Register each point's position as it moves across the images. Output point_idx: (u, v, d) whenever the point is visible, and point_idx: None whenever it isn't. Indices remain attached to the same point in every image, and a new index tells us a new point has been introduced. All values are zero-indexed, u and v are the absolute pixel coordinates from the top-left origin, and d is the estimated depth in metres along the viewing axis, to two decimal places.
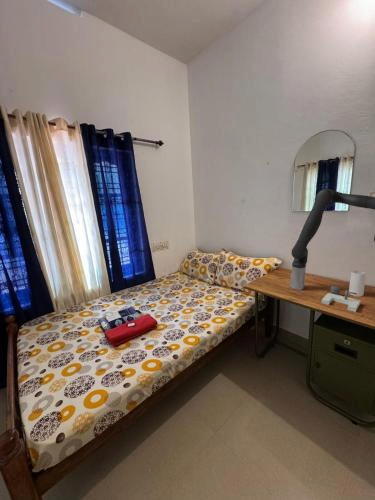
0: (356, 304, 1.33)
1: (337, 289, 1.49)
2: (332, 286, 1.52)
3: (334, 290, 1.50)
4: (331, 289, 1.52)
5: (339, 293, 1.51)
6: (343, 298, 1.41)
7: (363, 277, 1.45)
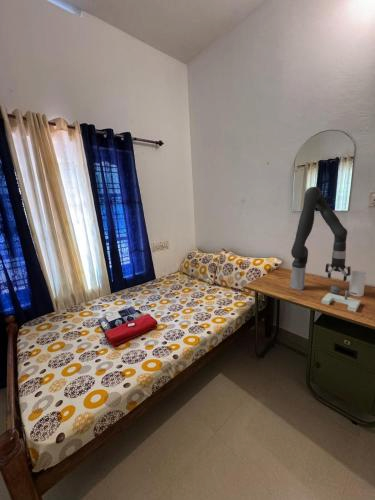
0: (356, 304, 1.33)
1: (337, 289, 1.49)
2: (332, 286, 1.52)
3: (334, 290, 1.50)
4: (331, 289, 1.52)
5: (339, 293, 1.51)
6: (343, 298, 1.41)
7: (363, 277, 1.45)
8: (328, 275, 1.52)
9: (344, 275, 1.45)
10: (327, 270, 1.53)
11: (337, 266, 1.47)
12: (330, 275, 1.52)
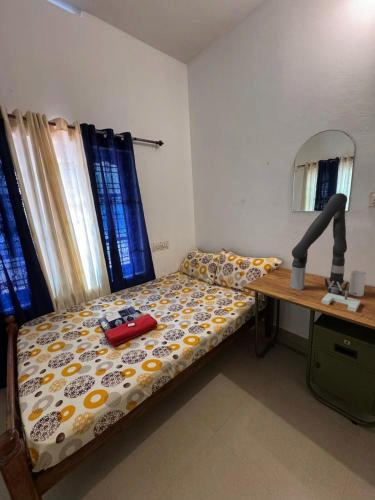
0: (356, 304, 1.33)
1: (337, 289, 1.49)
2: (332, 286, 1.52)
3: (334, 290, 1.50)
4: (331, 289, 1.52)
5: None
6: (343, 298, 1.41)
7: (363, 277, 1.45)
8: (328, 290, 1.54)
9: (340, 290, 1.48)
10: (327, 285, 1.54)
11: (335, 280, 1.49)
12: (330, 290, 1.53)
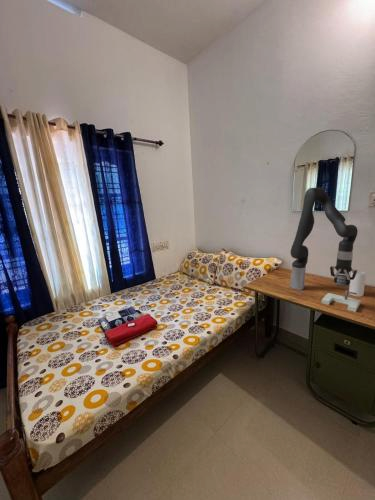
0: (356, 304, 1.33)
1: (344, 278, 1.32)
2: (338, 275, 1.35)
3: (341, 279, 1.32)
4: (337, 278, 1.35)
5: (346, 283, 1.33)
6: (343, 298, 1.41)
7: (363, 277, 1.45)
8: (334, 279, 1.37)
9: (347, 279, 1.31)
10: (333, 274, 1.37)
11: (342, 268, 1.32)
12: (336, 279, 1.36)
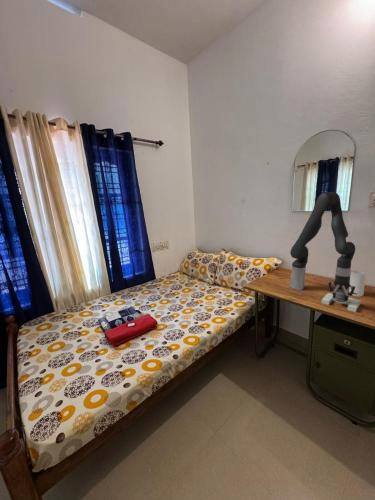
0: (356, 304, 1.33)
1: (343, 294, 1.34)
2: (337, 290, 1.37)
3: (339, 295, 1.35)
4: (336, 294, 1.37)
5: None
6: None
7: (363, 277, 1.45)
8: (333, 295, 1.39)
9: (346, 295, 1.33)
10: (332, 289, 1.39)
11: (341, 284, 1.34)
12: None
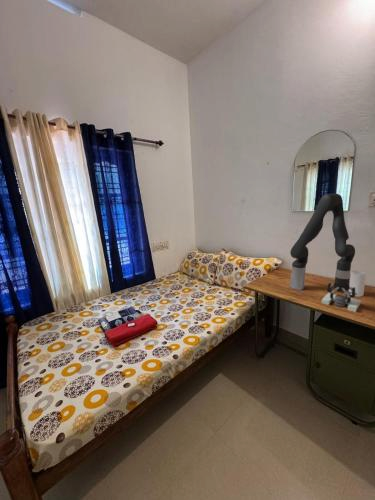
0: (356, 304, 1.33)
1: (342, 299, 1.34)
2: (336, 295, 1.38)
3: (339, 300, 1.35)
4: (335, 299, 1.37)
5: (344, 303, 1.36)
6: None
7: (363, 277, 1.45)
8: (330, 295, 1.40)
9: (348, 296, 1.33)
10: (329, 290, 1.40)
11: (340, 286, 1.34)
12: (332, 295, 1.40)
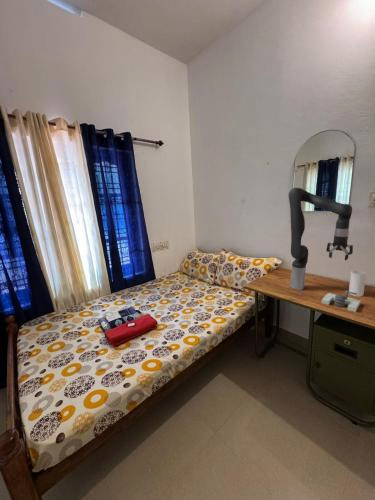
0: (356, 304, 1.33)
1: (342, 299, 1.34)
2: (336, 295, 1.38)
3: (339, 300, 1.35)
4: (335, 299, 1.37)
5: (344, 303, 1.36)
6: None
7: (363, 277, 1.45)
8: (329, 254, 1.48)
9: (346, 254, 1.40)
10: (328, 249, 1.48)
11: (339, 245, 1.42)
12: (331, 254, 1.48)
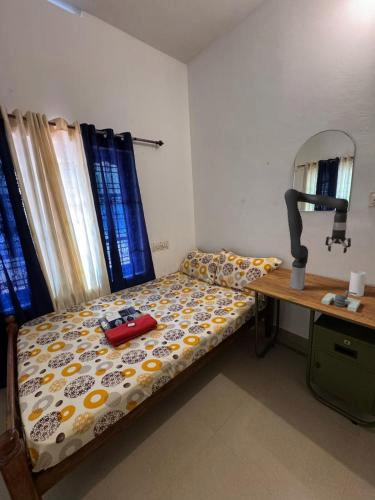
0: (356, 304, 1.33)
1: (342, 299, 1.34)
2: (336, 295, 1.38)
3: (339, 300, 1.35)
4: (335, 299, 1.37)
5: (344, 303, 1.36)
6: None
7: (363, 277, 1.45)
8: (328, 248, 1.52)
9: (344, 247, 1.44)
10: (327, 243, 1.52)
11: (337, 238, 1.46)
12: (330, 248, 1.51)
